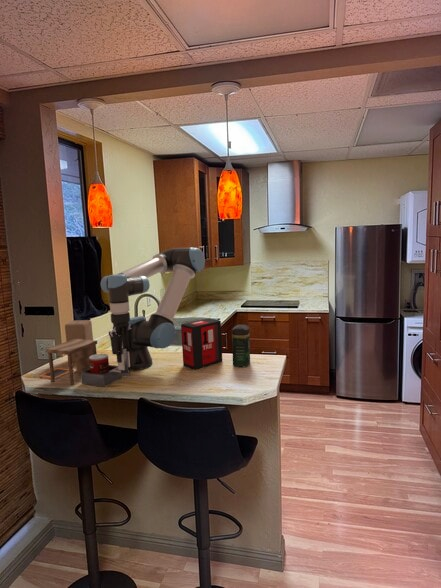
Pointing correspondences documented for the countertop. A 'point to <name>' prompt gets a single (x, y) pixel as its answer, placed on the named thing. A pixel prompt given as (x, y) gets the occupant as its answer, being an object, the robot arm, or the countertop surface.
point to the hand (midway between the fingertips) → (124, 368)
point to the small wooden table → (82, 354)
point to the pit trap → (56, 373)
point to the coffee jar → (241, 346)
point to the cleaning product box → (201, 343)
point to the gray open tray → (106, 374)
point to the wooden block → (78, 332)
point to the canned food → (99, 363)
